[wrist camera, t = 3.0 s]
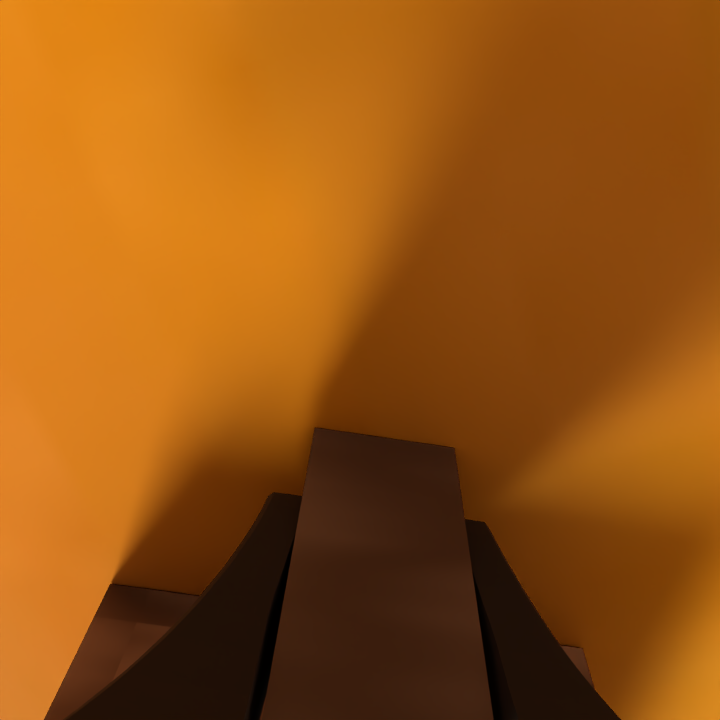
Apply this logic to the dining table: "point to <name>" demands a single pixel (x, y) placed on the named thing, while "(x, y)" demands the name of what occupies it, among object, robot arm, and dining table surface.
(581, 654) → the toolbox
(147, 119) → the dining table surface
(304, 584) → the block
